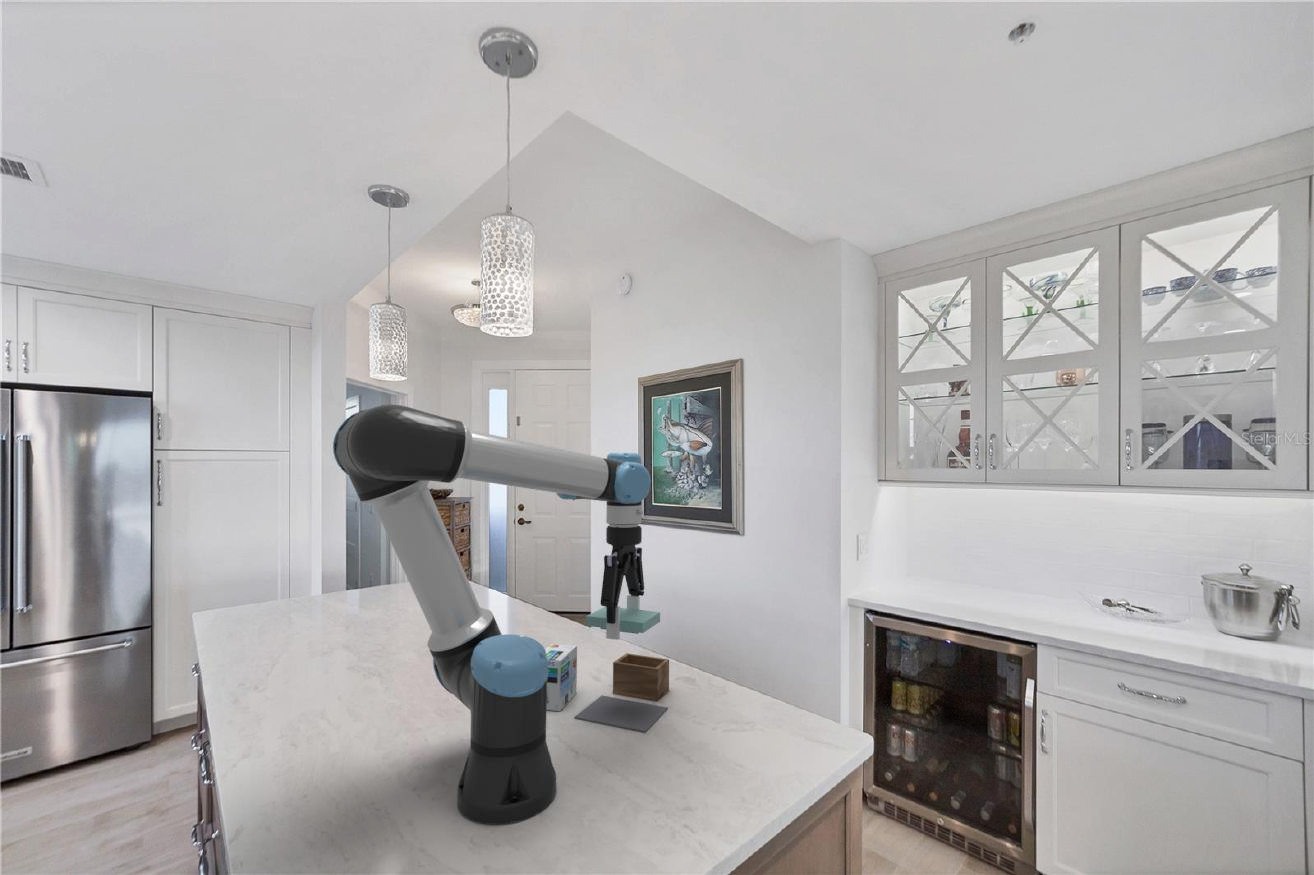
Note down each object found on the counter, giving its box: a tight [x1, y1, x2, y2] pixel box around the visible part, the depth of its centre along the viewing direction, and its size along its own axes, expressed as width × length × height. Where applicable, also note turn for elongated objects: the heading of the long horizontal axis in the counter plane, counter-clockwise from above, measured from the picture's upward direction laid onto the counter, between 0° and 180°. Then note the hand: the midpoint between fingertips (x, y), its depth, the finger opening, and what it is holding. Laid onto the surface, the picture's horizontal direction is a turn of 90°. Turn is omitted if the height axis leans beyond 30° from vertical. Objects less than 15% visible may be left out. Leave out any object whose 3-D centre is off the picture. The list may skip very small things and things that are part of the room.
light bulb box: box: [544, 643, 578, 712], centre depth 127 cm, size 11×7×11 cm, turn 168°
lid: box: [585, 606, 661, 635], centre depth 122 cm, size 9×13×3 cm
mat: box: [573, 695, 669, 734], centre depth 121 cm, size 12×16×1 cm
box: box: [612, 653, 670, 703], centre depth 132 cm, size 7×11×7 cm, turn 67°
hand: (623, 632), depth 122 cm, fingers closed on lid, 9 cm apart
